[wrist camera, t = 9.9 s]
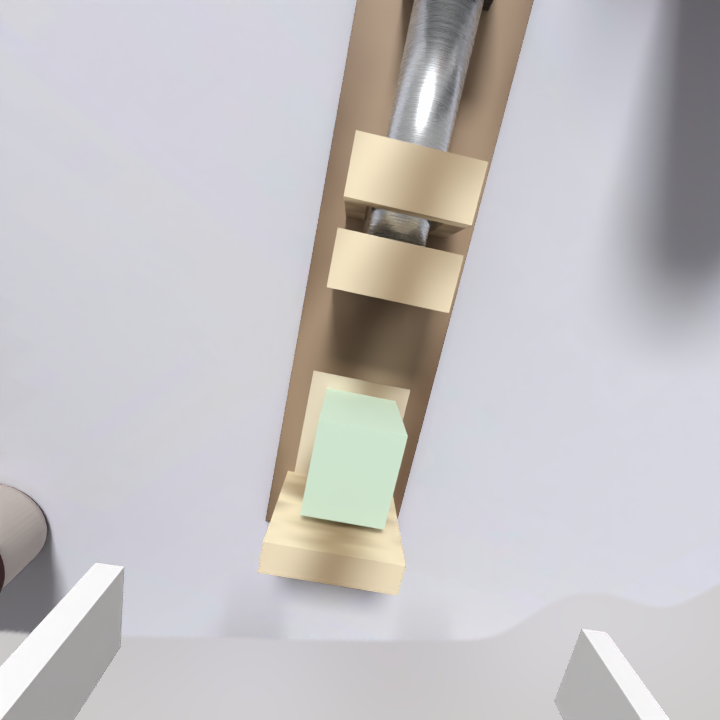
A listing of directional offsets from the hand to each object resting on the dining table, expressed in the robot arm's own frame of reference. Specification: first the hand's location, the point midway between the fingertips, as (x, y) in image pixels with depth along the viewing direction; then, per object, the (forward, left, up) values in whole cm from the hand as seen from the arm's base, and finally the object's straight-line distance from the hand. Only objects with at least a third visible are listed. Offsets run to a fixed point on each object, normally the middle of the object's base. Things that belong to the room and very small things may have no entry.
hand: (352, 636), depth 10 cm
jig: (0, +10, -17) cm, 20 cm away
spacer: (0, -1, -16) cm, 16 cm away
